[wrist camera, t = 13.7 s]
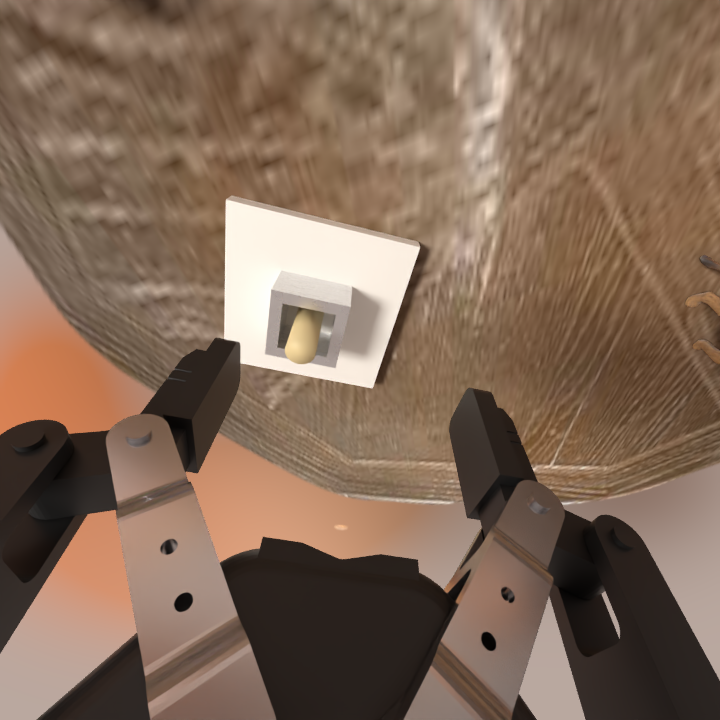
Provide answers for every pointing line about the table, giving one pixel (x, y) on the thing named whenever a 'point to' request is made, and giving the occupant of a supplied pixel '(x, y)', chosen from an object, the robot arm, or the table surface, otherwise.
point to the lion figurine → (715, 303)
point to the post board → (318, 260)
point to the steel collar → (311, 297)
